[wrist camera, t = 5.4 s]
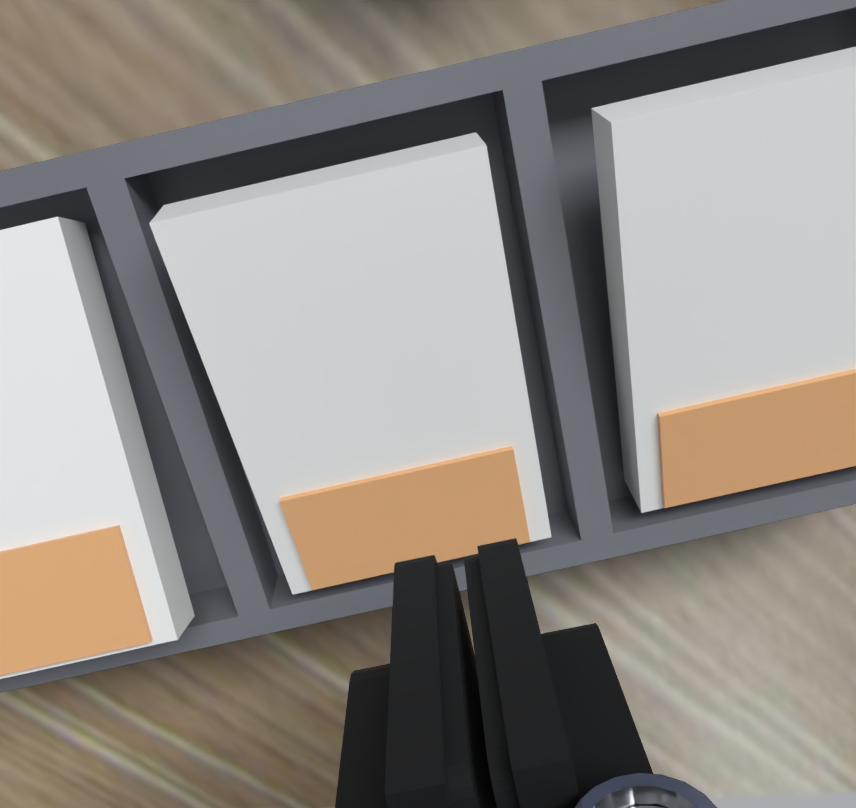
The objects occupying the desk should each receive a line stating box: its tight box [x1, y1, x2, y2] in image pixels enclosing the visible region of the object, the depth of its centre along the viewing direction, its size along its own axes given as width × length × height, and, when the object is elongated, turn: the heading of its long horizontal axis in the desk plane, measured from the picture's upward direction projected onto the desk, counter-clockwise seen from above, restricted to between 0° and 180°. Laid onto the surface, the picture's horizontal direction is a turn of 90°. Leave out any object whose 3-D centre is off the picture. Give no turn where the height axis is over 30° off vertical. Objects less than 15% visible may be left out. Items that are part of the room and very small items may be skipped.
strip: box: [0, 0, 856, 693], centre depth 15 cm, size 26×9×4 cm, turn 102°
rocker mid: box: [149, 132, 551, 594], centre depth 13 cm, size 5×7×1 cm
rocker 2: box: [591, 47, 856, 513], centre depth 13 cm, size 5×7×1 cm
